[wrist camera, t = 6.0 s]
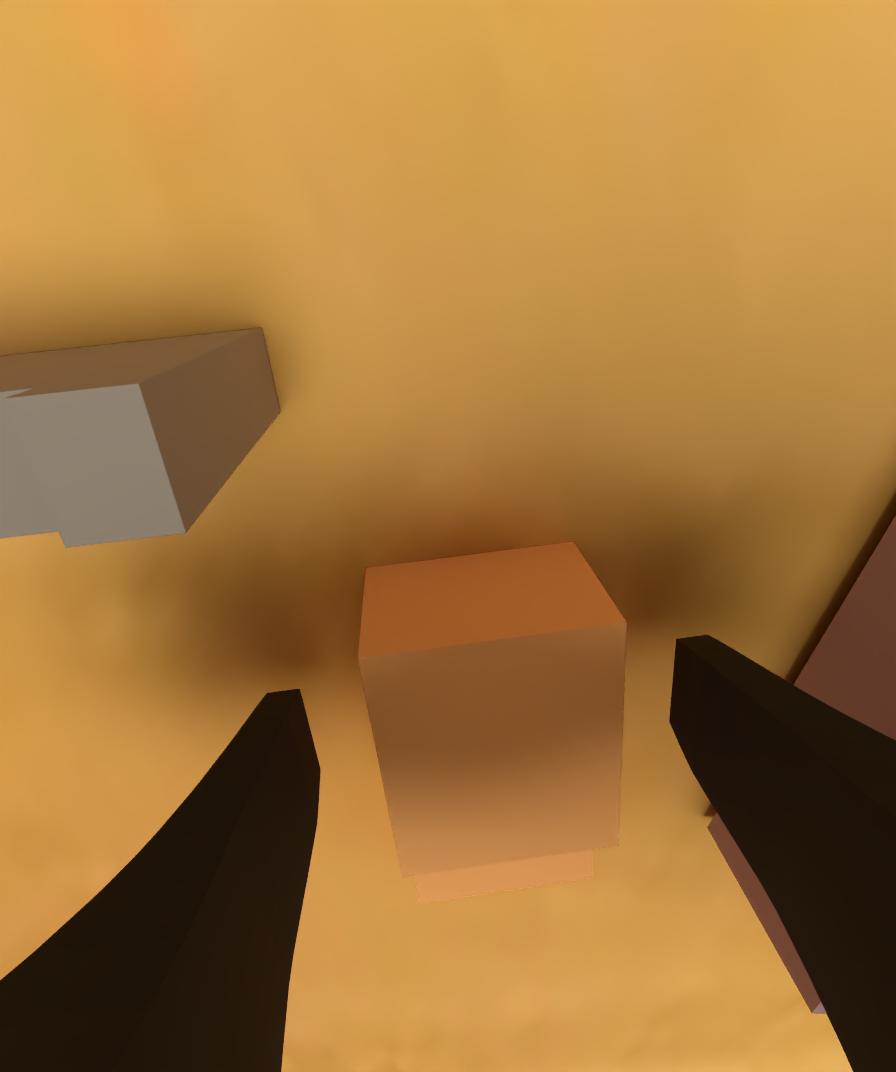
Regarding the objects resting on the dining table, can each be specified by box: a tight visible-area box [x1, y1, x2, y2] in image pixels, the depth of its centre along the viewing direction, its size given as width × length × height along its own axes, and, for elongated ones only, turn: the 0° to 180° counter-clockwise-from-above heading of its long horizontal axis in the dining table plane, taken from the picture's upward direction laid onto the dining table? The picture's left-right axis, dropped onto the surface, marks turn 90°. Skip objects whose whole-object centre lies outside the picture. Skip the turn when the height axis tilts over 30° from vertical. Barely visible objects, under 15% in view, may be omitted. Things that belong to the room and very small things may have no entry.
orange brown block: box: [358, 541, 627, 904], centre depth 13 cm, size 4×9×4 cm, turn 6°
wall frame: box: [0, 328, 280, 548], centre depth 8 cm, size 26×2×6 cm, turn 95°
